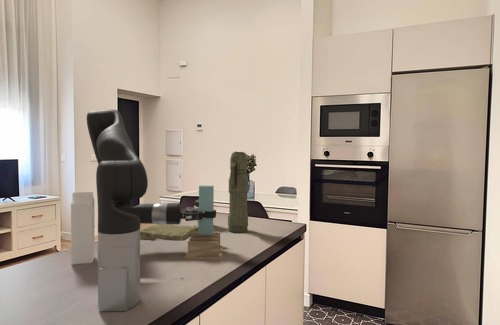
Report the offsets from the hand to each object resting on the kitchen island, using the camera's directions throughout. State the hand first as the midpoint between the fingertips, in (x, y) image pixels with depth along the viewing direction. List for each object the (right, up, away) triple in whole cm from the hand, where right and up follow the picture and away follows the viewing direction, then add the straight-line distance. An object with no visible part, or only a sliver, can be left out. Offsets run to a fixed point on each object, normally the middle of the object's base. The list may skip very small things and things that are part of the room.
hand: (215, 213), depth 122 cm
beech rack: (-3, -13, -4) cm, 14 cm away
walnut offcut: (-3, -12, -4) cm, 13 cm away
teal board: (-4, -12, 0) cm, 12 cm away
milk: (-41, -13, -13) cm, 45 cm away
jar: (-10, -12, +39) cm, 42 cm away
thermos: (+7, -12, +30) cm, 33 cm away
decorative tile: (-22, -13, +20) cm, 32 cm away
